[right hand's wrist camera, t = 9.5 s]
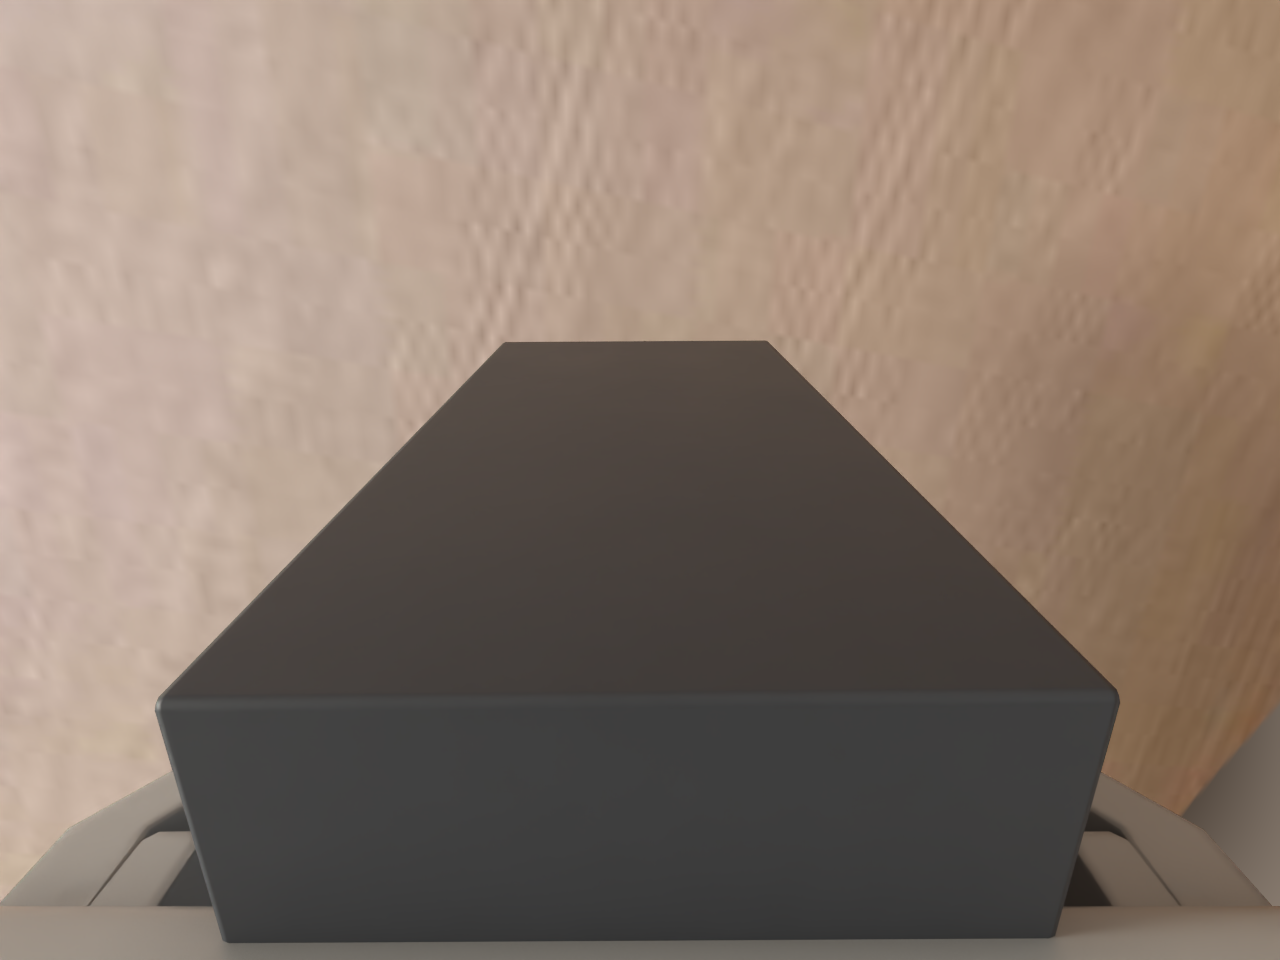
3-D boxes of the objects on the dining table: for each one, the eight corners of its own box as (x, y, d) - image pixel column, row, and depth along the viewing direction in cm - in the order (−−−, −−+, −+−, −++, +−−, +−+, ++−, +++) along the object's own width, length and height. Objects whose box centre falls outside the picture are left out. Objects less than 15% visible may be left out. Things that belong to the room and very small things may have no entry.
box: (502, 341, 16) (146, 701, 4) (768, 340, 16) (1127, 693, 4) (549, 992, 24) (464, 1772, 12) (730, 990, 24) (826, 1767, 12)
